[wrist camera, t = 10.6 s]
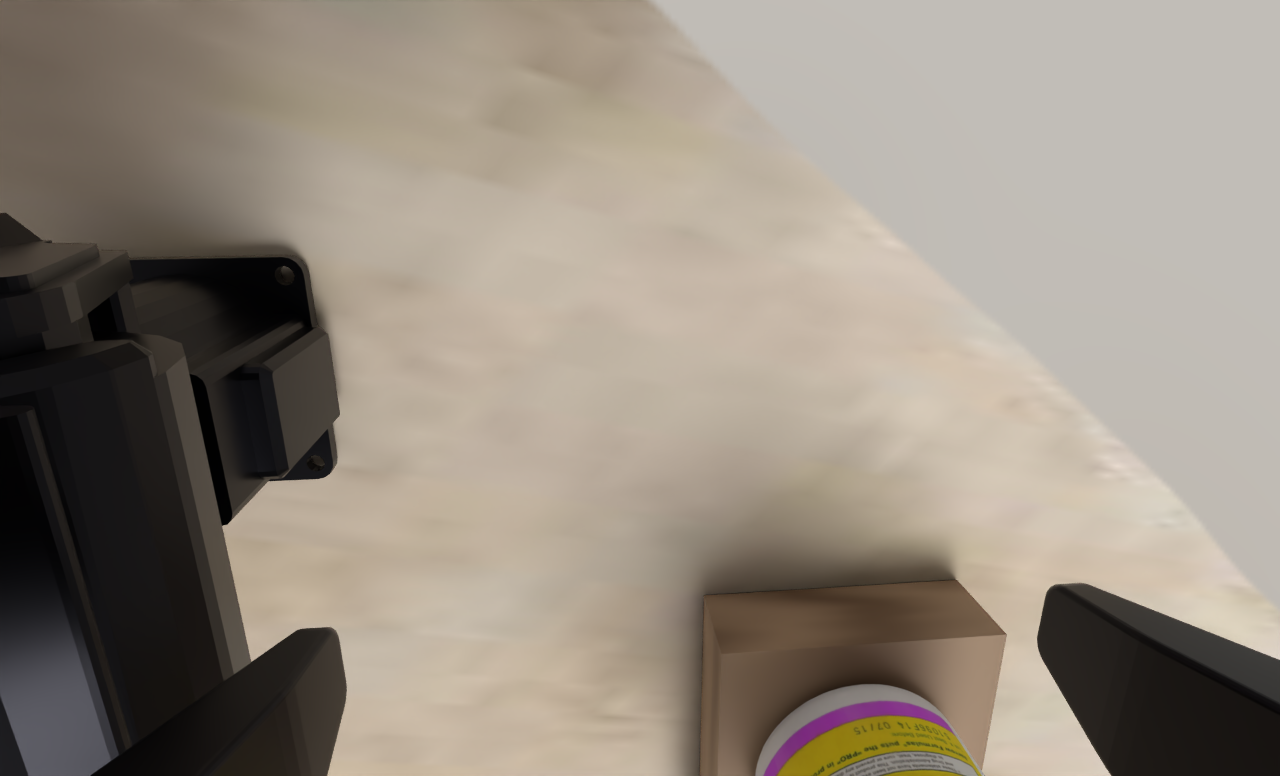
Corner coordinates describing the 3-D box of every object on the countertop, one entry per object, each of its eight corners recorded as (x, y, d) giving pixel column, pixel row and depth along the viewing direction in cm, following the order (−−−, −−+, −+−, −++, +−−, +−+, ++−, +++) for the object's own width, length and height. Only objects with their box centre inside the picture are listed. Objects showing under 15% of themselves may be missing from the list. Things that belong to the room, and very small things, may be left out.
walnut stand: (699, 798, 27) (714, 874, 24) (703, 595, 24) (721, 653, 21) (926, 778, 28) (967, 850, 25) (956, 580, 25) (1006, 634, 22)
